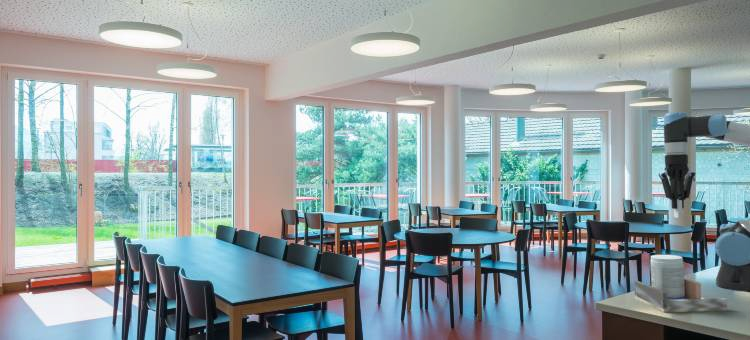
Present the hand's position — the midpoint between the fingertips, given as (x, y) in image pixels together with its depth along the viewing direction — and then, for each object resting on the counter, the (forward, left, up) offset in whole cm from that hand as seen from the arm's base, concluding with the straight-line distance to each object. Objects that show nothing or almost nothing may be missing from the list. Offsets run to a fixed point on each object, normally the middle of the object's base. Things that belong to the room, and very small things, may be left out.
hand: (678, 217), depth 192 cm
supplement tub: (+17, +21, -25) cm, 37 cm away
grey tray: (+14, +22, -26) cm, 37 cm away
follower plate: (+11, +22, -25) cm, 35 cm away
